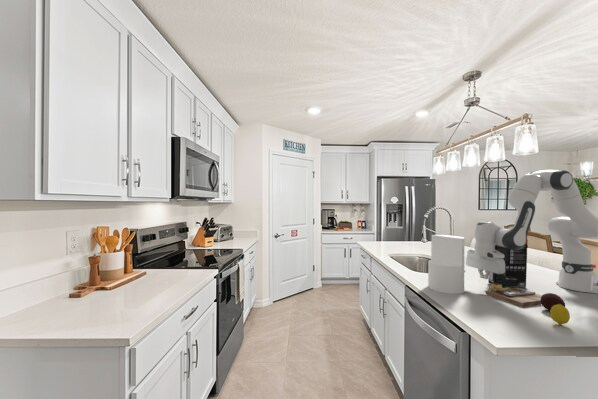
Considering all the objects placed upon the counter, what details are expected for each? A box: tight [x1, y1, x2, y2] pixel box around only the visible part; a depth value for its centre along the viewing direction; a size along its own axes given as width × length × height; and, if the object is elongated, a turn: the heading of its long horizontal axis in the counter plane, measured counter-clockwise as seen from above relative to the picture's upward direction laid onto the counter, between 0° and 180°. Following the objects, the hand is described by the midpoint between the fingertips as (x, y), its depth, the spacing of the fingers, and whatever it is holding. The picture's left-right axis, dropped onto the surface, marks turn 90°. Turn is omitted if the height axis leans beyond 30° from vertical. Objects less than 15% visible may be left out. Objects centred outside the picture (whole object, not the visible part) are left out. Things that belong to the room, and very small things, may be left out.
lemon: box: [549, 304, 571, 326], centre depth 109 cm, size 6×6×8 cm
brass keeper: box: [489, 283, 509, 292], centre depth 143 cm, size 4×6×3 cm, turn 17°
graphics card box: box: [487, 239, 528, 288], centre depth 160 cm, size 17×7×27 cm, turn 84°
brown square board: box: [485, 287, 543, 308], centre depth 139 cm, size 20×18×2 cm
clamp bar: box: [504, 289, 536, 296], centre depth 139 cm, size 16×3×1 cm, turn 106°
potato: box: [540, 292, 566, 312], centre depth 123 cm, size 8×9×8 cm
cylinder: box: [427, 234, 466, 295], centre depth 154 cm, size 17×17×28 cm
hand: (484, 278), depth 150 cm, fingers closed
